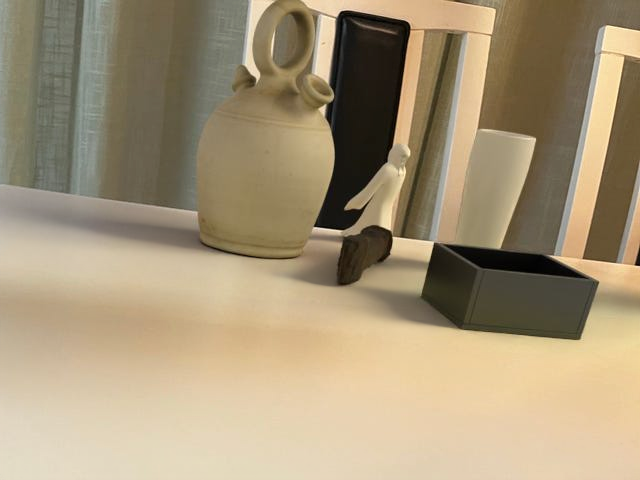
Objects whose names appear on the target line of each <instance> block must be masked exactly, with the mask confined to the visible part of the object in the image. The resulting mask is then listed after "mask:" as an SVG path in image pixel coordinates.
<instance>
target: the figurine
mask: <svg viewBox="0 0 640 480" xmlns="http://www.w3.org/2000/svg"><path fill="white" fill-rule="evenodd" d="M410 156H411V149H410V148H409V146H408V145H407V144H405V143H402V142H398V143H396V144H394V145H393V146H392V148H391V149H390V150H389V152H388V155H387V162H385V163H384V164H383V165H382V166H381V168H380V169H379V170H378V171H377V172H376V173H375V175H374V176H373V177H372V178H371V180H370V181H369V182H368V184H367V185H366V186H365V187H364V188H363V189H362V190H361V191H360V192H359V193H357V194H356V195H355V196H354V197H352V198H351V199H350V200H349V201H348V202H347V203H346V205H345V207H344V208H343V210H344V211H348V210H353V209H354V210H361V209H362V208H363V207H364V206H365V205H366V204H367V203H368V204H367V205H366V207H364V210H363V212H362V214H361V216H360V217H359V218H358V220H357V221H356V222H355V223H354V224H353V225H352V226H351V227H348V228H346V229H344V230H342V231H340V233H339V234H340V236H342V237H343V236H345V237H347V236H349V235H357V234H360V232H361V230H362V229H363V228H365V227H367V226H371V225H378V226H380V227H383V228H386V229H388V230H390V231H391V229H392V214H393V213H392V212H393V206H394V203H395V202H396V200H397V198H398V196H399V194H400V191H401V190H402V187H403V183H404V181H405V179H406V174H407V170H406V163H407V162H408V159H409V158H410ZM391 232H392V231H391ZM345 237H344V238H345Z"/></svg>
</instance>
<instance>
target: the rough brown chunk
mask: <svg viewBox="0 0 640 480" xmlns="http://www.w3.org/2000/svg"><path fill="white" fill-rule="evenodd" d="M393 243H394V237H393V232H392V231H390V230H388V229H386V228H383V227H380V226H378V225H371V226H367V227H365V228H363V229H362V230H361V232H360V234H357V235H349V236H347V237H343V240H342V244H341V248H340V253H339V257H338V260H337V264H336V266H337V269H336V281H337V283H338V284H351V283H353V282H357V281H361V278H362V274H363V272H364V271H365V270H366V269H369V268H371V267H372V266H373V264H374V263H377V262H378V263H383V262H385V261H386V260H387V259H388V258H389V257H390V256H391V255H392V254H391V251H392V249H393Z"/></svg>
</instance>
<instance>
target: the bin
mask: <svg viewBox="0 0 640 480" xmlns="http://www.w3.org/2000/svg"><path fill="white" fill-rule="evenodd" d="M599 285H600V281H599V280H597V279H595V278H593V277H592V276H589V275H588V274H587V273H584V272H581V271H580V270H578V269H576V268H573V267H572V266H570V265H568V264H567V263H564V262H562V261H560V260H558V259H556V258H554V257H552V256H550V255H548V254H547V253H542V252H535V251H533V252H532V251H525V250H522V251H521V250H513V249H505V248H500V249H496V248H487V247H477V246H467V245H458V244H454V243H447V242H439V241H438V242H437V241H434V242H433V245H432V249H431V253H430V256H429V261H428V265H427V269H426V273H425V277H424V282H423V286H422V290H421V292H420V298H422V299H423V300H424V301H426V302H427V303H428V304H429V305H431V306H432V307H433V308H434V309H436V310H437V311H438V312H439V313H440V314H442V315H444V316H445V317H446V318H447V319H448V320H450V321H451V322H453V324H455V325H456V326H457V327H459V328H460V329H462V330H469V331H481V332H492V333H502V334H512V335H513V334H514V335H524V336H533V337H534V336H535V337H544V338H545V337H546V338H557V339H567V340H568V339H569V340H578V341H579V340H581V339H582V336H583V333H584V329H585V327H586V323H587V320H588V317H589V315H590V312H591V309H592V306H593V303H594V300H595V297H596V294H597V291H598V287H599Z"/></svg>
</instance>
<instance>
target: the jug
mask: <svg viewBox="0 0 640 480" xmlns="http://www.w3.org/2000/svg"><path fill="white" fill-rule="evenodd" d="M288 15H291V16H292V18H293V19H294V22H295V26H296V32H297V33H296V43H295V46H294V49H293V52H292V54H291V56H290V57H289V59H288V60H287V61H286V62H285V63H284V64H282V65H280V66H278V64H276V63H275V61H274V59H273V55H272V44H273V43H272V42H273V38H274V34H275V31H276V29H277V27H278V26H279V24H280V22H281V21H282V20H283V19H284V18H285V17H286V16H288ZM315 40H316V26H315V20H314V17H313V14H312V12H311V9H310V8H309V7H308V5H307V4H306V2H304V1H303V0H274V1H273V2H272V3H270V4H269V5H268V6H267V7H266V8H265V9H264V11H263V12H262V14H261V15H260V17H259V19H258V21H257V23H256V26H255V29H254V32H253V37H252V44H251V48H252V49H251V50H252V59H253V62H254V65H255V68H256V69H257V71H258V72H259V78H258V79H257V77H256V76H255V75H253V74H251V72H250V70H249V69H248V67H247V66H246V65H244V64H240V65H238V66H237V67H236V69H235V73H234V81H233V82H232V84H231V90H232V91H233V92H234V94H233V95H231V96H229V97H228V98H226V99H225V100H224V101H222V102H221V103H219V104H218V105H217V107H216V108H214V110H213V111H212V112H211V115H210V116H209V117H208V119H207V121H206V123H205V125H204V127H203V129H202V132H201V134H200V138H199V141H198V146H197V152H196V161H195V162H196V167H195V168H196V170H195V171H196V201H197V203H196V206H197V209H196V210H197V221H198V228H199V240H200V242H201V243H202V244H204V245H205V246H208V247H211V248H215V249H218V250H221V251H224V252H229V253H231V254H232V253H233V254H237V255H239V254H240V255H243V256H244V255H245V256H249V257H256V258H262V259H286V258H296V257H299V256H301V255H302V254H303V253H304V248H305V247H306V245H307V243H308V241H309V239H310V237H311V235H312V232H313V229H314V226H315V224H316V222H317V220H318V217H319V215H320V212H321V210H322V207H323V205H324V202H325V199H326V196H327V194H328V190H329V187H330V184H331V180H332V177H333V172H334V166H335V158H336V157H335V143H334V137H333V134H332V129H331V126H330V123H329V121H328V120H327V118H326V117H325V116H324V115H323V113H322V112H321V110H320V108H323V107H325V106H326V105H328V104H330V103H331V102H333V100H334V98H335V94H334V90H333V89H332V87H331V86H330V84H329V83H328V82H327V81H326V80H325V79H324V78H322V77H320V76H319V75H317V74H313V73H307V74H305V75H304V76H303V79H302V85H301V87H300V90H299V88H298V87H297V86H298V85H297V83H296V79H297V76H299V75H300V74H301V73H302V72H303V71H304V70H305V68H306V66H307V65H308V63H309V61H310V59H311V56H312V53H313V51H314V47H315V43H316V42H315Z"/></svg>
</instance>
